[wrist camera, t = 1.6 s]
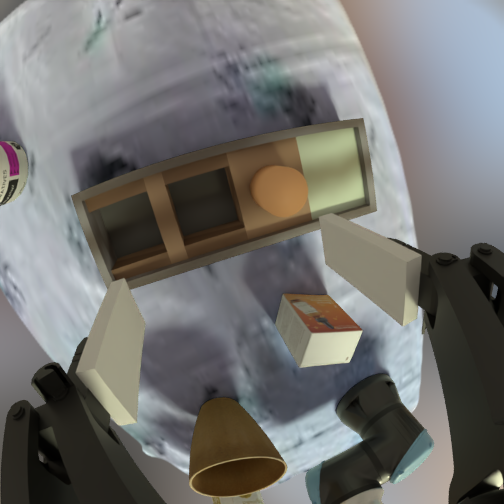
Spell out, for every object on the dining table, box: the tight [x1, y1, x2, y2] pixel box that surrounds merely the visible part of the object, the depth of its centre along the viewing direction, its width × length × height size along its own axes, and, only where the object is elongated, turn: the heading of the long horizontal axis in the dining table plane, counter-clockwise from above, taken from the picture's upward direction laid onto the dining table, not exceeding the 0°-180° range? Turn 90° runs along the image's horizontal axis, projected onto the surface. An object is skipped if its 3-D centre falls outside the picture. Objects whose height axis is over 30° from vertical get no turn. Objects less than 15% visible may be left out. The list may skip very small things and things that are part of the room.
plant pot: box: [189, 397, 287, 497], centre depth 39 cm, size 15×15×16 cm
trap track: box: [71, 118, 377, 290], centre depth 32 cm, size 12×34×6 cm, turn 104°
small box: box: [275, 294, 363, 368], centre depth 38 cm, size 8×6×10 cm
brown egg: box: [250, 165, 308, 217], centre depth 29 cm, size 5×5×4 cm
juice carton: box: [212, 491, 264, 504], centre depth 42 cm, size 9×8×24 cm
